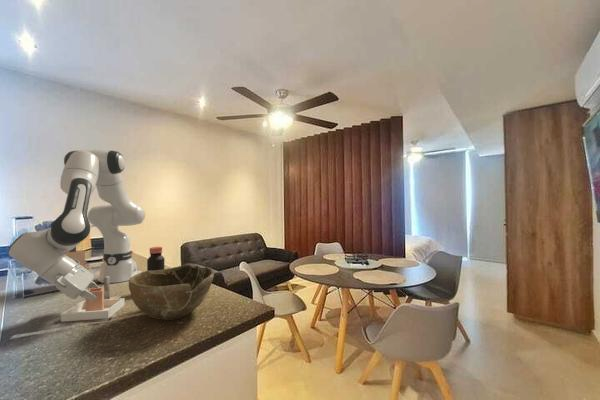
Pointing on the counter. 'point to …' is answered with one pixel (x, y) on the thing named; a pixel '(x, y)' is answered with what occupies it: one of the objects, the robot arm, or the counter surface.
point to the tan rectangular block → (77, 256)
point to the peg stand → (106, 289)
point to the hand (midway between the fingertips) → (97, 295)
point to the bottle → (155, 259)
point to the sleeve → (96, 300)
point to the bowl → (170, 290)
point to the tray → (81, 314)
